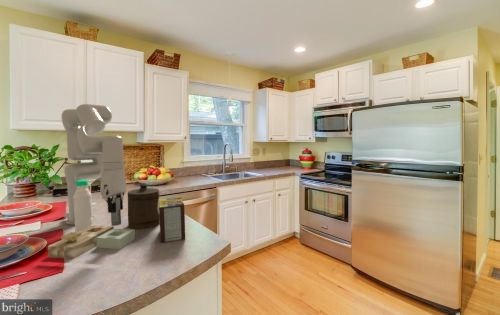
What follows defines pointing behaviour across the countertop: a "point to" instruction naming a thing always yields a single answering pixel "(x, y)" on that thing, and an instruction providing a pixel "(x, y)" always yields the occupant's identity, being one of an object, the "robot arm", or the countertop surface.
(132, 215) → the wooden container
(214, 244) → the countertop surface
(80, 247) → the socket block
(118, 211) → the silver cylinder
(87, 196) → the water bottle
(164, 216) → the protein box
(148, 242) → the countertop surface
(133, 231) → the pale green square block
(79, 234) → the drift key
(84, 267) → the countertop surface
